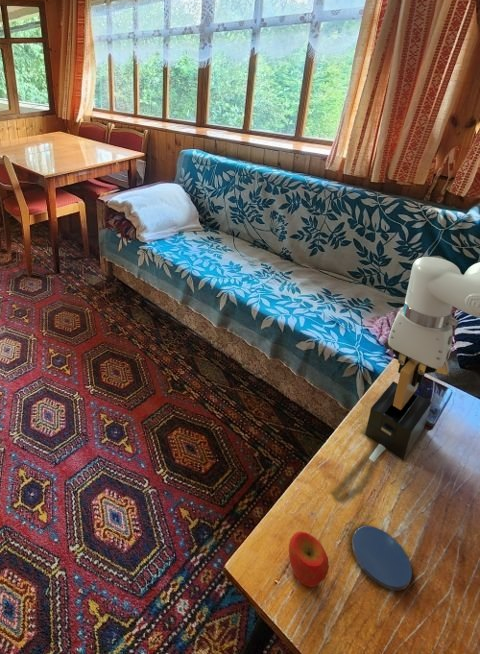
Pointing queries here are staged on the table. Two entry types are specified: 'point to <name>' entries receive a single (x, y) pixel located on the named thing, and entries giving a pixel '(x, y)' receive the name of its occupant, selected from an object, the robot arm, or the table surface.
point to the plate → (381, 558)
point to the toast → (405, 384)
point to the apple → (308, 559)
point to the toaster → (397, 422)
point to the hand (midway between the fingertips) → (409, 379)
